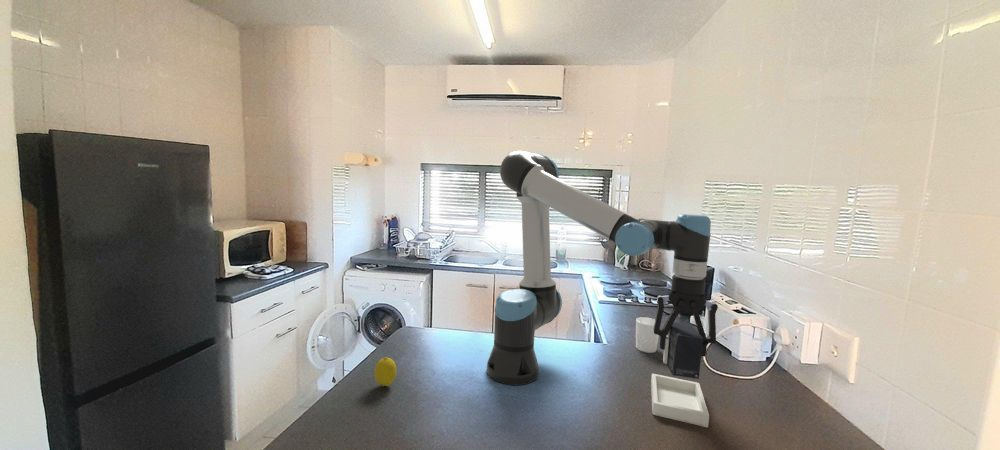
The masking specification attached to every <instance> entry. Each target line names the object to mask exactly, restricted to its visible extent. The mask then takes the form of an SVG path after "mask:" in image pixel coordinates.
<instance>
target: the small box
mask: <svg viewBox="0 0 1000 450" xmlns="http://www.w3.org/2000/svg"><path fill="white" fill-rule="evenodd" d="M667 336H668V337H669V346H668V357H667V364H666V365H667V368H668V370H669V371H670V373H671V375H672V376H675V377H676V376H677V377H683V378H689V379H690V378H691V379H697V380H699V379H700V371H701V361H702V356H701V353H702V344H703V338H702V336H701V335H700V334H699V332H698V330H697V329H696V328H695V327H694V326H693V324H691V323H686V322H685V323H684V322H678V321H674V323H673V325H672V327H671V328H670V330H669V332H668V334H667Z"/></svg>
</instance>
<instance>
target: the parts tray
mask: <svg viewBox="0 0 1000 450" xmlns="http://www.w3.org/2000/svg"><path fill="white" fill-rule="evenodd" d="M650 379H651V380H650V388H651V389H650V390H651V391H650V393H651V410H652V411H651V413H652V415H653V416H657V417H662V418H666V419H671V420H674V421H678V422H683V423H686V424H691V425H696V426H699V427H703V428H709V422H710V421H709V420H710V414H709V409H708V407H707V404H706V401H705V398H704V397H705V396H704V394H703V391H702V388H701V385H700V383H699V382H697V381H692V380H686V379H683V378H682V379H680V378H677V377H671V376H667V375H662V374H656V373H651V377H650Z"/></svg>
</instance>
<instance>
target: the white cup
mask: <svg viewBox="0 0 1000 450" xmlns="http://www.w3.org/2000/svg"><path fill="white" fill-rule="evenodd" d="M655 319H656V318H651V317H647V316H644V317H642V316H641V317H640V316H639V317H636V319H635V348H636V349H637V350H638V351H640V352H642V353H649V354H650V353H651V354H652V353H656V352H657V348H658V343H659V340H660V339H659V338H660V336H659V335H657V334H654V324H655Z"/></svg>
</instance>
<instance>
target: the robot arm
mask: <svg viewBox="0 0 1000 450" xmlns="http://www.w3.org/2000/svg"><path fill="white" fill-rule="evenodd" d="M499 172H500V173H499V175H500V179H501V181H502V182H503V185H505V186H506V187H507V188H508V189H510V190H511V191H513V192H515V194H516V199H517V200H518V201H520V203H521V223H522V224H521V227H522V229H521V230H522V231H521V232H522V256H523V257H522V259H523V261H522V262H523V264H522V265H523V266H522V267H523V278H522V279H521V280H520V282H519V285H518V287H519V288H513V289H508V290H504V291H502V292H501V293H500V294H499V295H498V296H497V297H496V300H495V307H494V314H495V315H494V329H493V330H494V334H493V335H494V336H493V346H492V349H491V352H490V354H489V357H488V360H487V362H486V374H487V373H488V374H487V376H488V377H489V376H490V377H489V378H491V379H492V380H494V381H495V382H498V383H500V384H503V385H504V384H505V385H509V386H510V385H511V386H522V385H526V384H531V383H532V382H534V381H536V380H537V379H538V377H539V367H540V366H539V362H538V358H537V355H536V351H535V335H536V334H535V333H536V330H538V329H539V328H542V327H543V326H544V325H546V324H550V323H551V322H553V321H554V320H555V319H556V317H558V316H559V314H560V313H561V311H562V307H563V300H562V296H561V293H560V292H559V291H558V289H557V283H556V281H555V280H554V279H553V278H552V275H551V273H552V268H551V266H552V265H551V238H550V208H551V209H553V210H554V211H557V212H558V213H560V214H562V215H564V216H565V217H567V218H569V219H571V220H573V221H575V222H576V223H577V224H579V225H581V226H583V227H585V228H587V229H589V230H590V231H592V232H594V233H596V234H597V235H599V236H601V237H603V238H605V239H606V240H607V241H610V242H612V243H613V244H615V246H616V248H618V250H619V251H620V252H621V253H622V254H625V255H627V256H631V257H632V256H633V257H634V256H635V257H636V256H641V255H644V254H646V253H648V252H649V251H651V250H660V251H661V250H662V251H663V250H664V251H668V252H669V251H671V252H672V251H673V252H674V253H673V263H672V273H673V275H672V276H671V286H670V287H671V288H670V292H669V293H668V295H661V294H658V295H657V303H658V305H657V309H656V314H655V318H654V319H655V324H654V334H657V335H659V338H660V339H659V349H660V350H663V355H662V356H663V357H662V361H663V364H665V365H667V357H668V346H669V337H668V336H667V334H668V332H669V330H670V328H671V327H672V325H673V323H674V322H676V319H677V317H678V316H679V315H680V314H681V313H682V314H685V313H686V314H688V315H693V319H694V321H695V325H696V330H697V332H698V333H699V334H700V335H701V336H702V338H703V344H702V353H701V357H706V355H707V348H708V346H709V344H713V345H714V344H716V343H717V330H716V329H717V325H716V324H717V323H716V322H717V321H716V313H717V310H718V309H719V307H718V306H719V305H718V304H717V302H715V301H709V300H707V299H706V296H705V294H706V293H705V292H706V280H705V279H706V277H707V271H708V270H707V269H708V268H707V267H708V257H709V251H710V241H711V226H712V225H711V218H710V217H709V216H707V215H702V214H685V213H684V214H683V213H682V214H681V213H680V214H678V215H677V218H676V220H675V221H674V220H673V221H668V220H655V219H647V218H635V217H633V216H631V215H628V214H626V213H625V212H624V211H622V210H619V209H617V208H615V207H614V206H612V205H610V204H608V203H606V202H604V201H603V200H600V199H598V198H596V197H594V196H592V195H590V194H588V193H587V192H585V191H583V190H581V189H579V188H577V187H575V186H573V185H571V184H569V183H567V182H565V181H563V180H561V179H560V178H559V176H560V173H559V168H558V166H557V164H556V163H555V161H554V160H552V158H550V157H548V156H546V155H544V154H541V153H534V152H528V151H524V150H517V151H516V150H515V151H513V152H511V153H508V154H507V155H506V156H505V157H504V158H503V160H502V161H501V165H500V167H499ZM668 301H669V302H670V303H671V305H672V308H671V311H670V313H669V315H668V317H667V319H666V321H665V322H664V324H663V327H662V329H661V323H662V319H663V314H664V309H665V305H667V304H668ZM704 306H705V308H706V310H707V318H708V319H707V321H708V336H706V333H705V330H704V327H703V323H702V320H701V315H700V313H699V311H700V310H701V309H703V307H704Z"/></svg>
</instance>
